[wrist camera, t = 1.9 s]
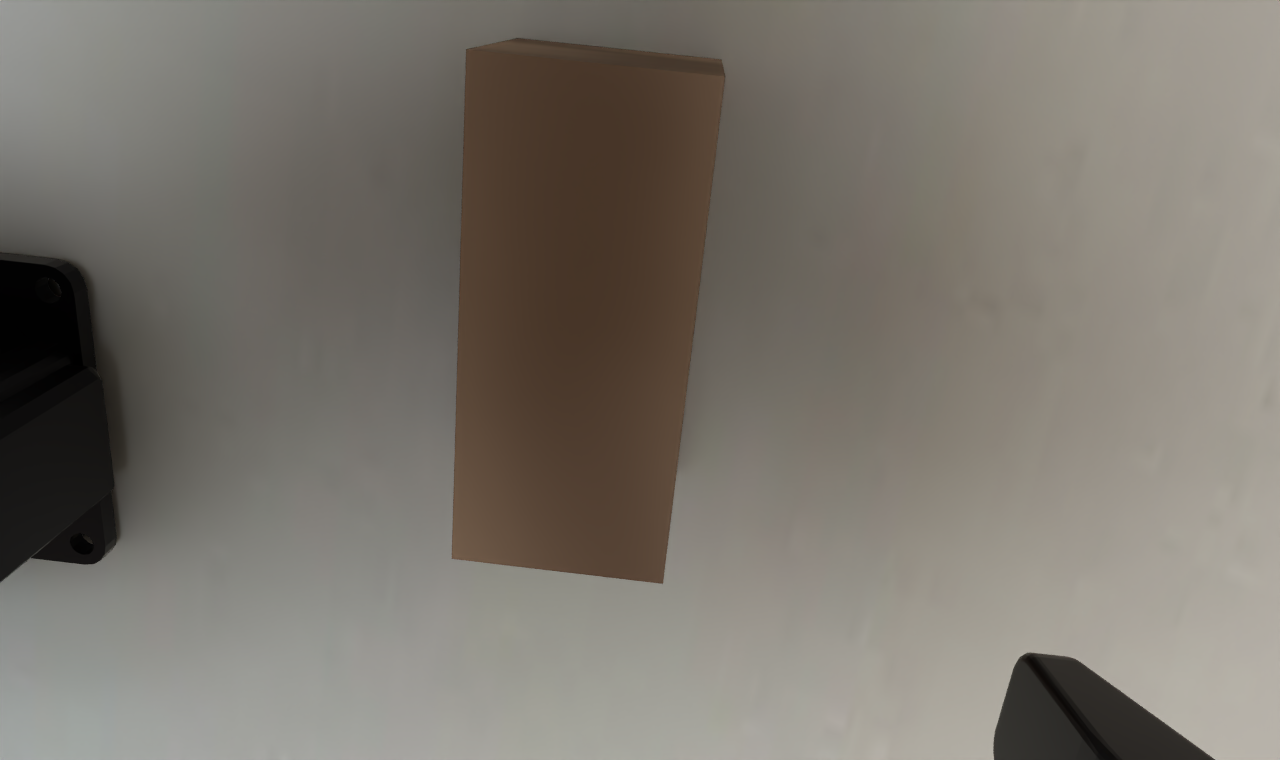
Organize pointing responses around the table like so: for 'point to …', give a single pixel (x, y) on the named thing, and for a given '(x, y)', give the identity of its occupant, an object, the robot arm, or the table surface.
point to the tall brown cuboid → (578, 300)
